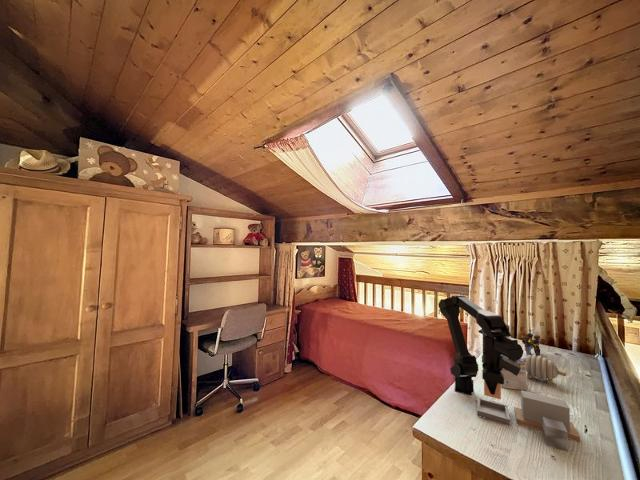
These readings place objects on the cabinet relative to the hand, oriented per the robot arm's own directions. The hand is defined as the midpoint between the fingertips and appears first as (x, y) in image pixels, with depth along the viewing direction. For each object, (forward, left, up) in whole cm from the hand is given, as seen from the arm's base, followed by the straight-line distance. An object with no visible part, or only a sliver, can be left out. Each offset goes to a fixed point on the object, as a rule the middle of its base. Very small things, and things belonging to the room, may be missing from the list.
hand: (492, 390), depth 95 cm
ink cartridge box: (+8, +27, -8) cm, 29 cm away
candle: (+6, +54, -8) cm, 55 cm away
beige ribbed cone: (+20, +40, -8) cm, 45 cm away
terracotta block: (0, 0, -1) cm, 1 cm away
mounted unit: (+15, +2, -8) cm, 17 cm away
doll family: (+21, +70, -9) cm, 74 cm away
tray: (0, 0, -8) cm, 8 cm away
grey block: (+16, -7, -8) cm, 19 cm away
